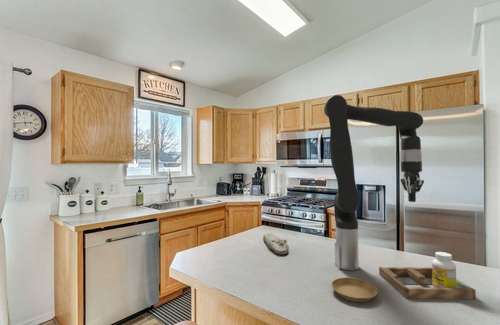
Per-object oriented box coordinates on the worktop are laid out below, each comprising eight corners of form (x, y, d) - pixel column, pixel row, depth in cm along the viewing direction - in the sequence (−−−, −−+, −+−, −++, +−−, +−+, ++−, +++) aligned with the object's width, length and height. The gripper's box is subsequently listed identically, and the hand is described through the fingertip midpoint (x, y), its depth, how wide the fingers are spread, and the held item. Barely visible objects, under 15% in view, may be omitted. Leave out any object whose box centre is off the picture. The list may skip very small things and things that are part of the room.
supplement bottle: (428, 286, 91) (427, 250, 91) (445, 286, 91) (444, 250, 91) (442, 295, 84) (441, 257, 85) (461, 295, 84) (460, 257, 85)
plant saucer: (354, 310, 76) (354, 301, 76) (322, 289, 90) (322, 281, 90) (387, 300, 82) (387, 292, 82) (353, 281, 96) (353, 274, 96)
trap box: (405, 298, 83) (405, 288, 83) (379, 274, 101) (379, 267, 101) (475, 299, 82) (475, 290, 82) (436, 275, 100) (436, 267, 100)
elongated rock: (275, 239, 159) (260, 240, 157) (274, 230, 159) (259, 232, 158) (293, 254, 125) (274, 256, 123) (292, 243, 125) (273, 246, 123)
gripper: (393, 161, 113) (394, 199, 112) (411, 160, 99) (412, 203, 99) (410, 161, 112) (411, 199, 112) (430, 160, 99) (431, 203, 99)
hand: (412, 201), depth 105 cm, fingers closed
